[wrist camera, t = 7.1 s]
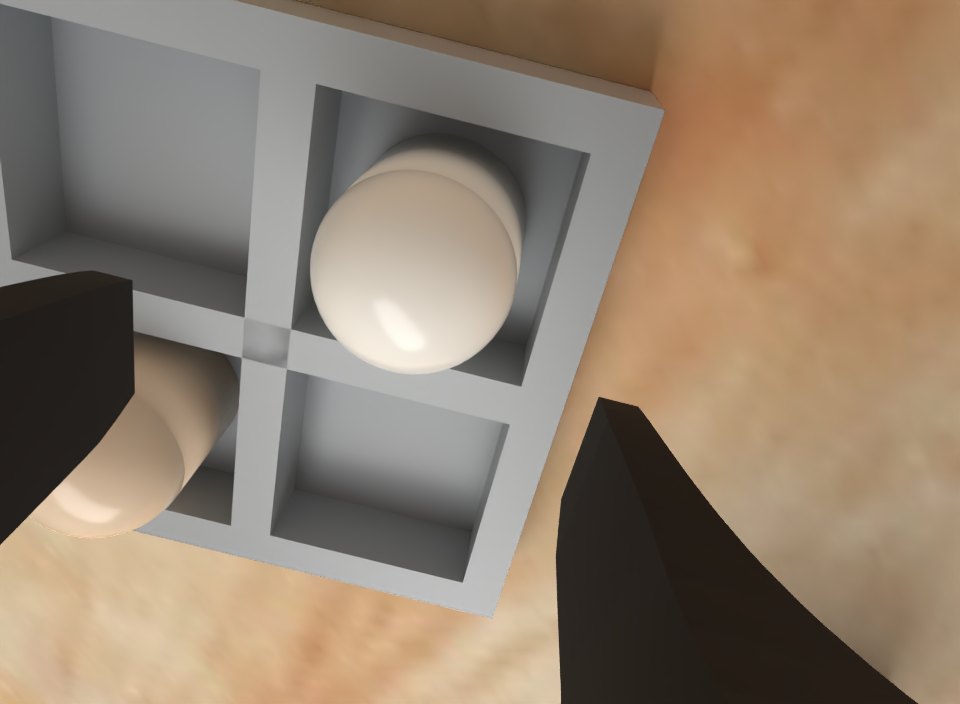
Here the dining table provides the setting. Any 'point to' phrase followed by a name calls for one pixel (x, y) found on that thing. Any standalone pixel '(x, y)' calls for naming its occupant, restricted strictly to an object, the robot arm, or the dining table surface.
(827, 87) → the dining table surface
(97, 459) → the brown egg
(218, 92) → the egg carton
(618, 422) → the robot arm
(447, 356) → the white egg
